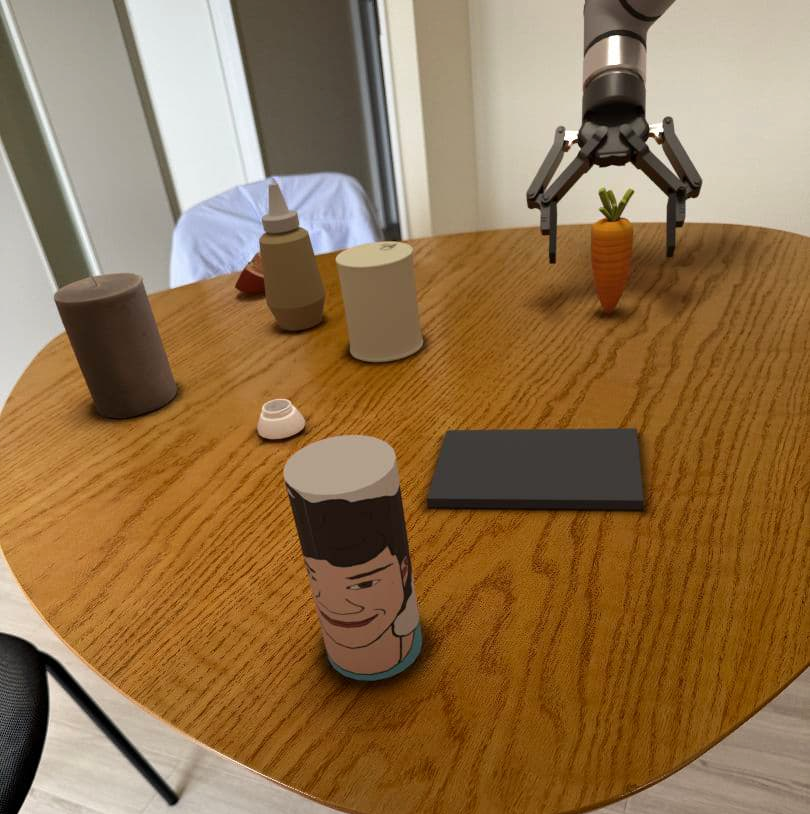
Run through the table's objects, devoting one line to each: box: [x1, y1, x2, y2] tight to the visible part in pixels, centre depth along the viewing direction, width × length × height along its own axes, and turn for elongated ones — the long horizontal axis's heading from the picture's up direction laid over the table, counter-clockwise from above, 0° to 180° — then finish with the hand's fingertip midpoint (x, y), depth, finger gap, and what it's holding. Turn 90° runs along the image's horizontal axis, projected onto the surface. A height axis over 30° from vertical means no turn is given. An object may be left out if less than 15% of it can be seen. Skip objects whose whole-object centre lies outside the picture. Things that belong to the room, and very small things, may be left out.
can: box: [335, 240, 424, 363], centre depth 94 cm, size 9×9×12 cm
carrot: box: [590, 187, 635, 315], centre depth 93 cm, size 5×5×15 cm
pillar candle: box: [53, 272, 178, 419], centre depth 89 cm, size 10×10×15 cm
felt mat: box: [426, 427, 645, 511], centre depth 70 cm, size 18×12×1 cm, turn 79°
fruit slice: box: [234, 251, 265, 295], centre depth 119 cm, size 8×7×5 cm
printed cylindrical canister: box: [283, 434, 423, 682], centre depth 51 cm, size 7×7×15 cm
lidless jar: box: [256, 398, 306, 440], centre depth 82 cm, size 5×3×5 cm
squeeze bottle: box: [258, 182, 326, 331], centre depth 102 cm, size 8×8×18 cm
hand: (610, 255), depth 93 cm, fingers open, 13 cm apart
